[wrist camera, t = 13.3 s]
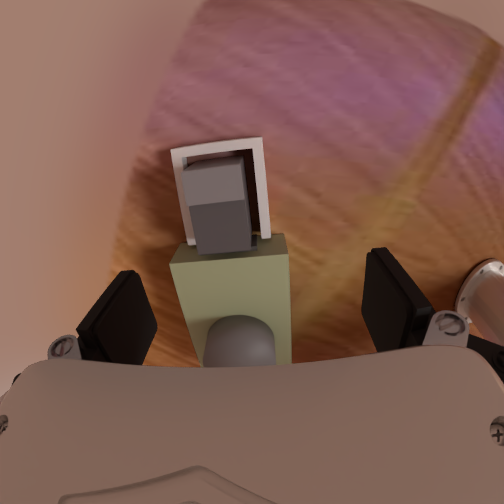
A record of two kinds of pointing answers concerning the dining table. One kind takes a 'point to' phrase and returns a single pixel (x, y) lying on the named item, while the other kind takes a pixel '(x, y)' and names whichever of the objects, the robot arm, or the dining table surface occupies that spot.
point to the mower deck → (234, 281)
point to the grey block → (218, 204)
